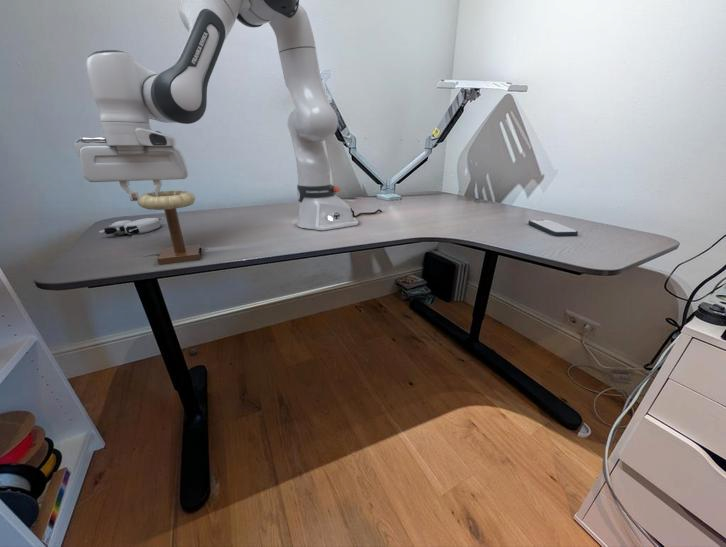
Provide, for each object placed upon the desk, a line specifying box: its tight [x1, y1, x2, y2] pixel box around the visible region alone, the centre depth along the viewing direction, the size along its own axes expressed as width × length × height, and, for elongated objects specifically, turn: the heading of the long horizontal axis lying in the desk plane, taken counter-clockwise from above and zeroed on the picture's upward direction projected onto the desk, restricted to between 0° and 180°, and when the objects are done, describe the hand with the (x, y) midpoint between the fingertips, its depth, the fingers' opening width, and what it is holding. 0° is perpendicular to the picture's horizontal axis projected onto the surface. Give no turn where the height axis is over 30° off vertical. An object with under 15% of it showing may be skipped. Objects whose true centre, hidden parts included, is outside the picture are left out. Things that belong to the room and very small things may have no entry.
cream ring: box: [136, 190, 196, 211], centre depth 77 cm, size 12×12×3 cm
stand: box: [157, 208, 202, 265], centre depth 80 cm, size 9×9×14 cm
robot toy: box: [98, 217, 165, 236], centre depth 101 cm, size 12×4×15 cm
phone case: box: [527, 219, 579, 237], centre depth 110 cm, size 9×2×16 cm
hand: (146, 200), depth 75 cm, fingers closed on cream ring, 3 cm apart
